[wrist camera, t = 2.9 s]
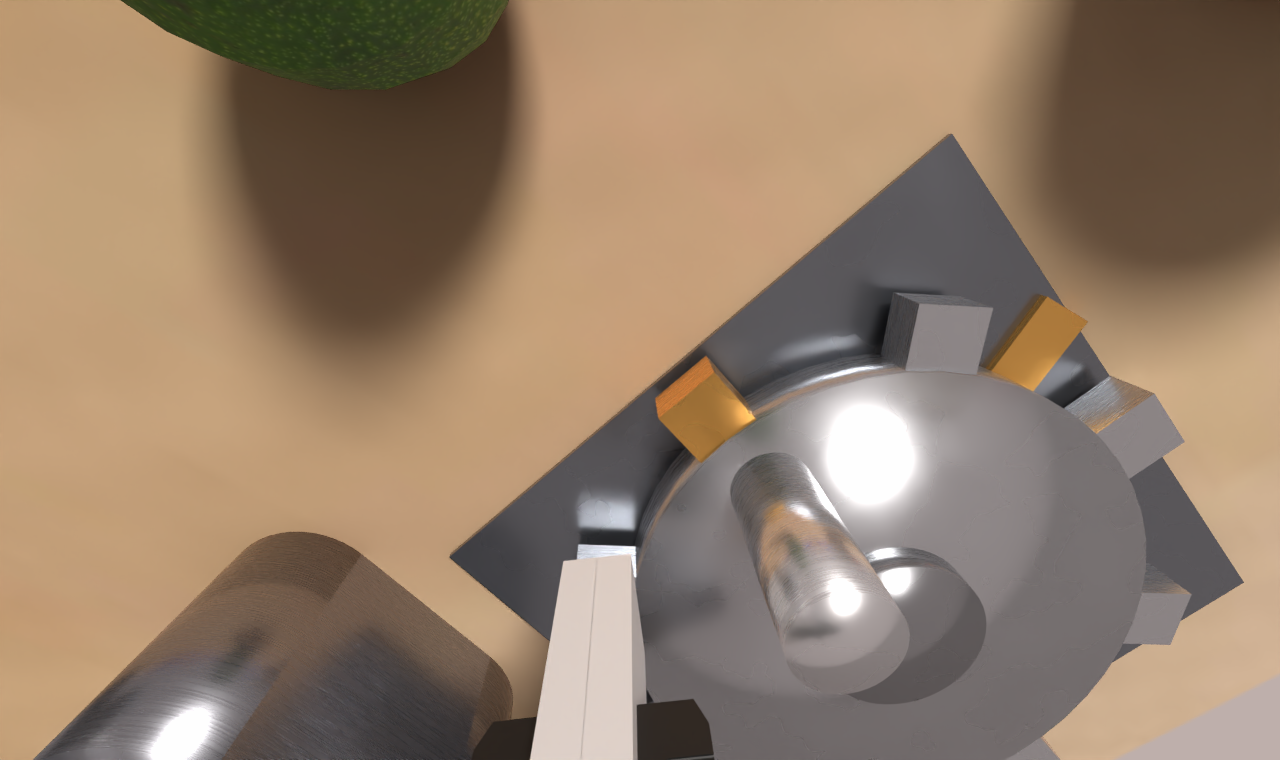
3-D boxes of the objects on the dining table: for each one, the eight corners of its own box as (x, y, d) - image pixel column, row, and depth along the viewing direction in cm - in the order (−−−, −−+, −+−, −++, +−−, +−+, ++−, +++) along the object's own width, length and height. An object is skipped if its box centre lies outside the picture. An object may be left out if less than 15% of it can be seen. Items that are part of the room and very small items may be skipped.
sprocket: (455, 562, 20) (354, 799, 12) (955, 144, 16) (1251, 115, 9) (803, 854, 25) (883, 1148, 17) (1244, 587, 21) (1588, 813, 14)
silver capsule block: (193, 596, 21) (-58, 845, 13) (295, 501, 20) (87, 710, 12) (443, 774, 24) (358, 1060, 16) (543, 699, 23) (504, 968, 15)
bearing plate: (450, 553, 20) (446, 562, 20) (954, 129, 17) (963, 128, 16) (799, 846, 26) (802, 859, 25) (1243, 575, 22) (1256, 585, 21)
